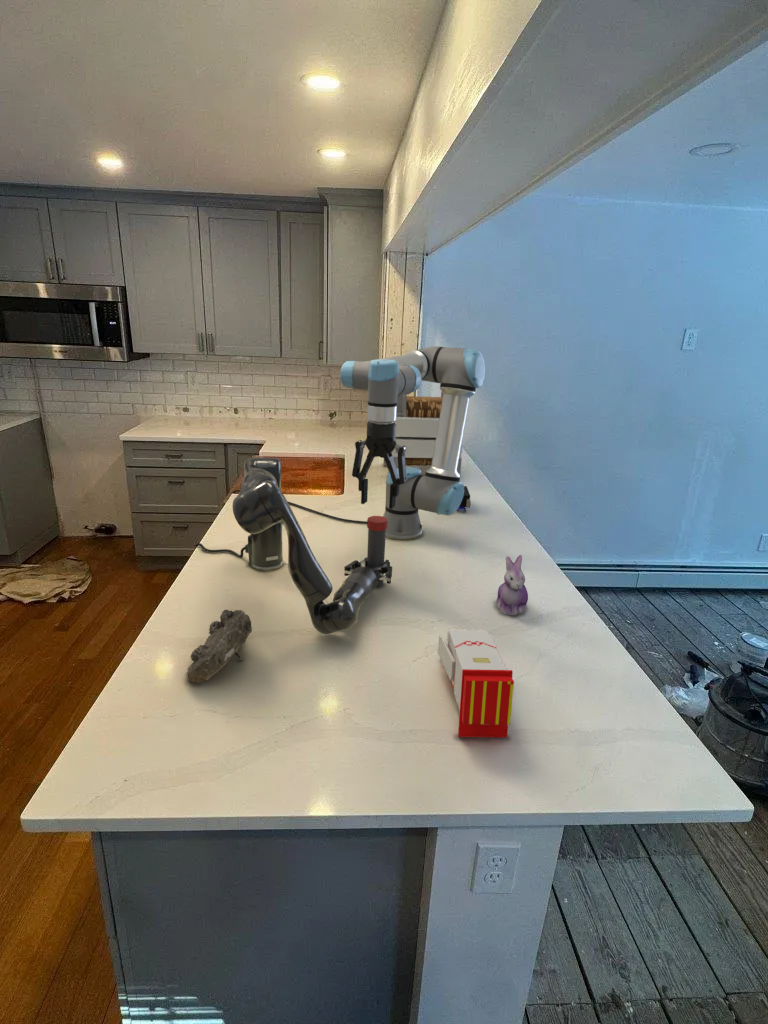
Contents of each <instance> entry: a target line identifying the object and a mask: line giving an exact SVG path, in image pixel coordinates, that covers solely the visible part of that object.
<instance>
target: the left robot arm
mask: <svg viewBox="0 0 768 1024" xmlns="http://www.w3.org/2000/svg"><path fill="white" fill-rule="evenodd" d="M282 468H283V467H282V463H281V459H280V458H278V457H249V458H247V459H246V460H245V461H244V464H243V467H242V479H241V482H240V487H239V488H240V489H239V490H240V492H238V494H237V495H236V497H235V498H234V499H233V501H232V513H233V516H234V519H235V521H236V522H237V524H238V525H239V527H240V528H241V529H242V530H243V531H244V532H246V533H248V534H249V535H248V536H247V543H246V544H245V545H244V546H243V547H242V548H241V549H240V554H238V553H237V552H235V551H234V550H232V549H228V548H227V549H226V548H222V549H221V548H220V549H208V548H206V547H205V546H204V545H203V543H201V542H198V543H196V544H195V545H194V547H196V548H198V547H200V548H201V549H202V550H203V551H204V552H206V553H230V554H232V555H234V556H235V557H237V558H239V559H241V558H243V557H244V551H245V553H246V554H248V566H249V567H251V568H253V569H254V570H257V571H263V572H267V571H268V572H269V571H274V570H277V569H279V568H281V567H282V566H283V565H284V557H283V526H284V528H285V531H286V535H287V543H288V544H287V546H288V547H287V548H288V549H287V551H288V552H287V568H288V573H289V576H290V578H291V580H292V582H293V584H294V585H295V587H296V588H297V590H298V591H299V593H300V595H301V596H302V597H303V599H304V602H305V604H306V607H307V610H308V613H309V616H310V621H311V623H312V626H313V628H314V629H315V631H316V632H318V633H320V634H321V635H331V634H334V633H338V632H341V631H345V630H348V629H350V628H352V627H354V625H356V623H357V622H358V618H359V612H360V608H361V607H362V606H363V604H364V603H365V602H366V601H367V600H368V598H369V597H370V596H371V595H372V593H373V592H374V590H375V589H376V588H375V587H376V585H377V583H379V582H381V581H383V582H386V584H389V585H390V584H392V579H393V578H392V577H393V566H391V561H390V560H389V559H388V558H387V559H386V558H385V559H384V563H383V565H381V566H379V565H378V566H376V567H374V568H370V567H367V557H364V558H363V559H362V560H360V561H359V560H355V559H354V560H353V561H352V562H350V563H348V564H346V565H344V568H343V569H344V570H343V576H345V577H346V578H345V579H344V581H343V582H342V585H341V586H340V587H339V588H338V589H337V590H336V592H335V593H334V595H333V598H332V601H329V602H327V603H325V600H327V599H328V597H330V596H331V595H332V593H333V584H332V583H331V580H330V579H329V577H328V576H327V574H326V573H325V571H324V569H323V568H322V566H321V564H320V563H319V562H318V560H317V558H316V556H315V554H314V552H313V551H312V549H311V546H310V544H309V543H308V540H307V538H306V535H305V534H304V531H303V529H302V527H301V524H300V523H299V521H298V519H297V517H296V516H295V514H294V511H293V509H292V507H291V506H290V505H291V504H288V502H289V501H288V500H287V498H286V496H285V495H284V493H283V492H282V478H283V476H282V475H283V469H282ZM287 501H288V502H287ZM282 522H283V523H282ZM383 575H384V576H383Z"/></svg>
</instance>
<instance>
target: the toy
mask: <svg viewBox="0 0 768 1024" xmlns="http://www.w3.org/2000/svg"><path fill="white" fill-rule="evenodd" d="M446 640H447V643H446V641H445V639H444V636H443V635H442V634H439V637H438V646H437V656H438V657H439V659H440V661H441V663H442V666H443V668H444V670H445V672H446V674H447V677H448V679H449V681H450V684H451V687H452V690H453V693H454V697H455V701H456V705H457V708H458V711H459V714H458V715H459V716H458V730H457V731H458V732H457V737H458V738H508V731H509V726H510V725H511V717H512V707H513V697H514V696H513V695H514V684H515V680H514V679H513V673H514V671H513V670H512V669H508V667H507V665H506V662H505V661H504V659H503V658H502V655H501V653H500V651H499V649H498V647H497V643H496V639H495V637H494V635H493V634H491V632H490V631H489V629H467V628H466V629H465V628H463V629H461V628H460V629H459V628H448V630H447V639H446Z"/></svg>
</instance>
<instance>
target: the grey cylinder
mask: <svg viewBox="0 0 768 1024" xmlns="http://www.w3.org/2000/svg"><path fill="white" fill-rule="evenodd" d="M367 531H368V532H367V556H366V558H367V567H370V568H374V567H376V566H378V565H379V566H381V565H383V563H384V562H385V559H386V557H385V555H386V538H387V537H386V530H383V531H373V530H370V529H368V528H367ZM384 575H385V574H384ZM384 575H383V576H384ZM383 586H384V581H381V582H379V583H377V585H376V587H375V589H380V588H382V587H383Z"/></svg>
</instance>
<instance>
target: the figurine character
mask: <svg viewBox="0 0 768 1024" xmlns="http://www.w3.org/2000/svg"><path fill="white" fill-rule="evenodd" d="M471 501H472V500H471V494H470V491H469V488H468V486H467V485H464V495H463V499H462V501H461V504H460V506H459V507H458V509H457V510H456V512H460V510H463V511H464V513H466V512H467V509H470V508H471V505H472V504H471ZM466 508H467V509H466Z"/></svg>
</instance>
